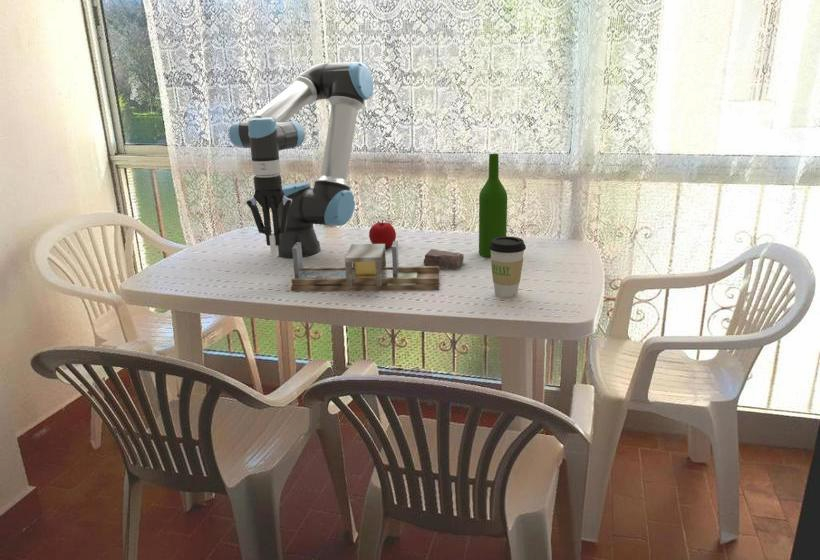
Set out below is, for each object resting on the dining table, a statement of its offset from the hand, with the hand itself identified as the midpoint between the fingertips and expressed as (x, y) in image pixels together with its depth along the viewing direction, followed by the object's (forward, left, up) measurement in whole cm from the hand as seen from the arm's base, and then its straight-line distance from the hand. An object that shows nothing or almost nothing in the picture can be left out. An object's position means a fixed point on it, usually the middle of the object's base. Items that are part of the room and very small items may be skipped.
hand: (275, 255), depth 183 cm
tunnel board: (+23, +13, -8) cm, 28 cm away
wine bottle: (+43, +55, -9) cm, 71 cm away
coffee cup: (+62, +24, -9) cm, 67 cm away
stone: (+34, +38, -9) cm, 52 cm away
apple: (+6, +45, -9) cm, 47 cm away
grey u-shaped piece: (+18, +11, -7) cm, 22 cm away
